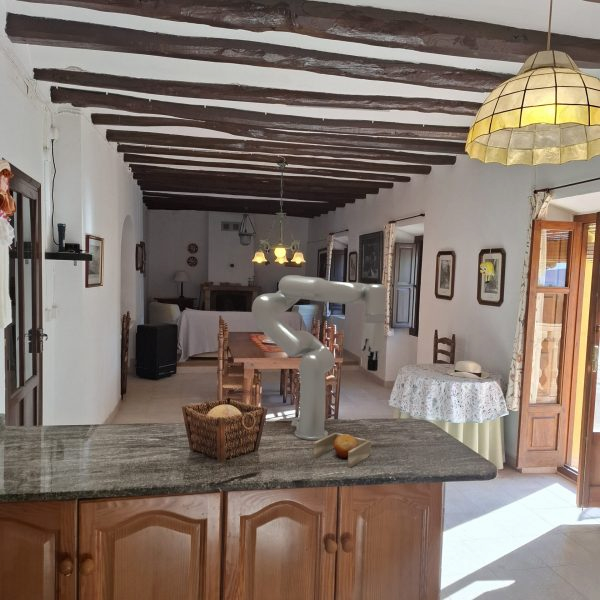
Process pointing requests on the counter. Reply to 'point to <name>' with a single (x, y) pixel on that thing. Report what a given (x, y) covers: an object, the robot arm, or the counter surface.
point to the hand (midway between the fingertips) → (372, 370)
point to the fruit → (344, 445)
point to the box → (353, 455)
